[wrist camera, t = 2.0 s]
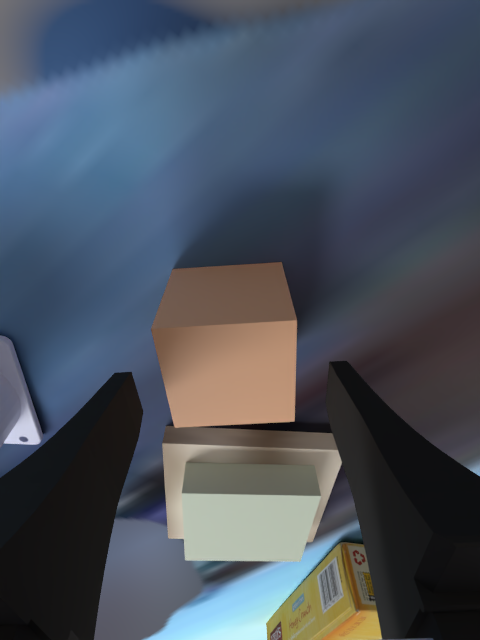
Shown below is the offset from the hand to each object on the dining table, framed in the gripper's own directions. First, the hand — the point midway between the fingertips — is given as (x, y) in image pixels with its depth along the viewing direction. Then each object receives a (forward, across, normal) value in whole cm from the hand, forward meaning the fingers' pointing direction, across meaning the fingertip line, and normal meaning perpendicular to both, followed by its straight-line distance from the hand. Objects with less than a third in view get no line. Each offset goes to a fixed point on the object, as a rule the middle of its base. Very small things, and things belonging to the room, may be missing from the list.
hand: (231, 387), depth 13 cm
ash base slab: (+6, 0, +14) cm, 15 cm away
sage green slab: (+4, 0, +14) cm, 15 cm away
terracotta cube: (+6, 0, 0) cm, 6 cm away
